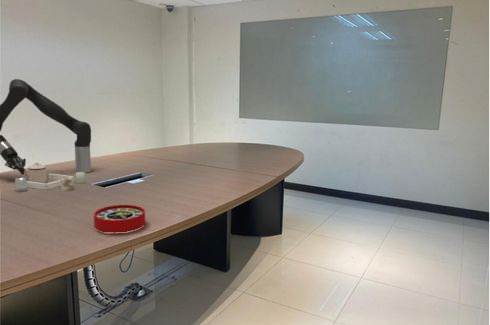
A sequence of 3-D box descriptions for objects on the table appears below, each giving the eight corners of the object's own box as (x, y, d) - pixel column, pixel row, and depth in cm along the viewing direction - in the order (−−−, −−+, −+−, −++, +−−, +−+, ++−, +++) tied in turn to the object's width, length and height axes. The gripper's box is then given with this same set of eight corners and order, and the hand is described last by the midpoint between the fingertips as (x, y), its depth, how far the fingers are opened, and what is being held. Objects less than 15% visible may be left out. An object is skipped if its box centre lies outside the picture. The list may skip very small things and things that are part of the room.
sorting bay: (21, 186, 199) (20, 181, 199) (50, 178, 219) (50, 173, 218) (47, 189, 195) (46, 184, 194) (74, 181, 215) (74, 176, 214)
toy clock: (135, 202, 163) (152, 215, 147) (135, 214, 164) (152, 228, 148) (88, 209, 151) (101, 224, 135) (88, 222, 152) (102, 238, 136)
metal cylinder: (28, 189, 195) (27, 176, 193) (26, 191, 190) (25, 178, 189) (17, 189, 193) (16, 177, 192) (15, 192, 188) (14, 179, 187)
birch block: (70, 187, 201) (70, 177, 200) (73, 189, 197) (72, 179, 196) (61, 189, 198) (60, 178, 197) (63, 191, 194) (63, 180, 193)
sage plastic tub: (85, 181, 216) (85, 171, 215) (85, 183, 211) (84, 173, 210) (76, 181, 214) (75, 172, 213) (75, 183, 209) (75, 173, 208)
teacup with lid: (49, 180, 214) (48, 161, 212) (42, 184, 205) (40, 164, 203) (29, 179, 213) (27, 160, 211) (20, 183, 205) (18, 163, 202)
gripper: (13, 153, 217) (30, 175, 216) (-8, 156, 205) (11, 179, 204) (19, 145, 215) (37, 167, 214) (-1, 148, 202) (18, 171, 202)
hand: (24, 173), depth 209 cm, fingers closed
